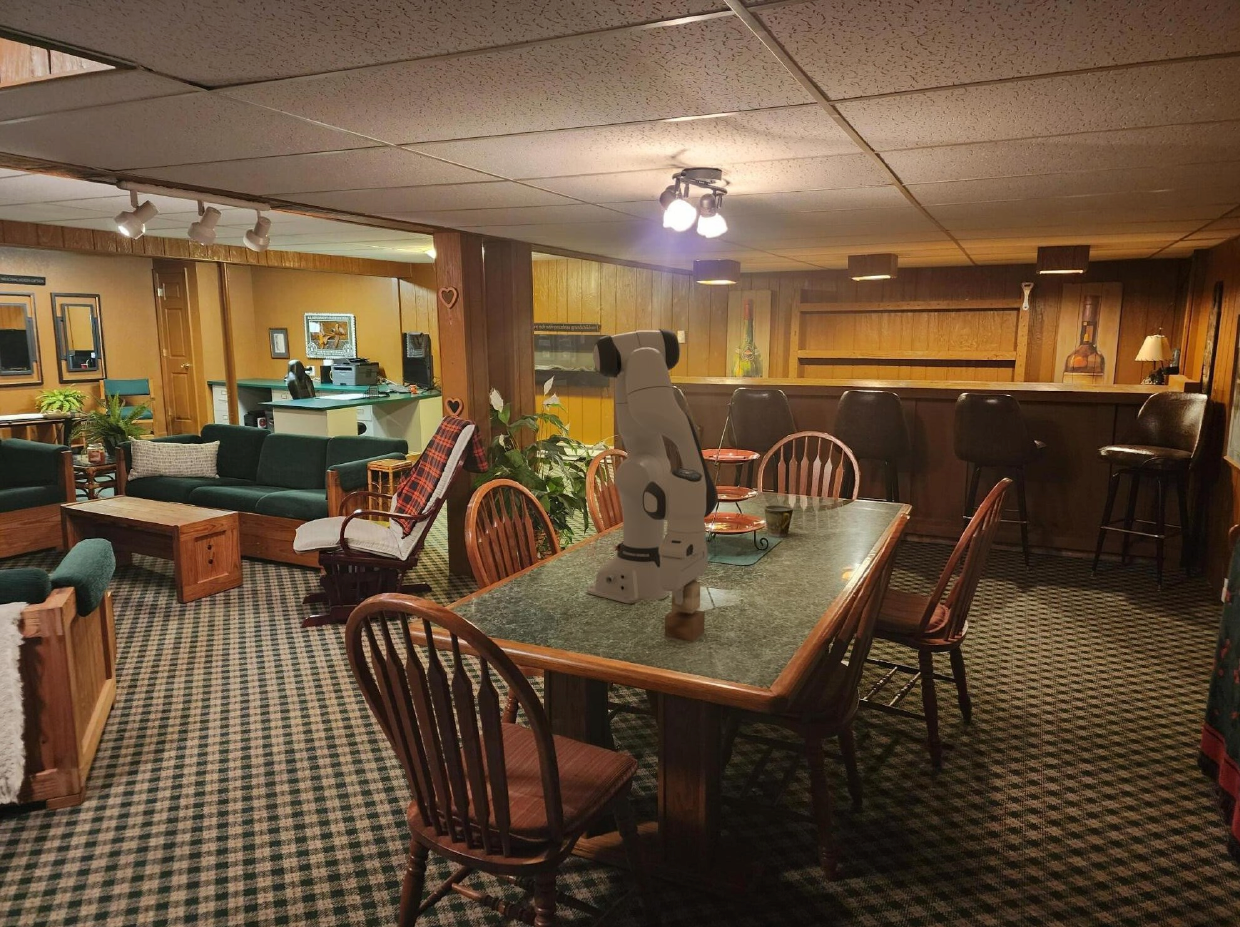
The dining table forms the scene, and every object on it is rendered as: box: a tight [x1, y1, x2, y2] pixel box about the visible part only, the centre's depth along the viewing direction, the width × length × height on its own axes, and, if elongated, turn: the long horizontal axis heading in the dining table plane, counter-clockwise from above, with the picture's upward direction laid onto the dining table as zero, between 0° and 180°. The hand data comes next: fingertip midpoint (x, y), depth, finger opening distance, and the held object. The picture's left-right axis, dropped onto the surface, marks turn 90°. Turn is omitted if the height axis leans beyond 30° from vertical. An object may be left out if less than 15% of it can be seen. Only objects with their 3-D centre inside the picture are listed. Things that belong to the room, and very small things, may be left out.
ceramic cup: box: [764, 504, 794, 538], centre depth 284 cm, size 13×10×10 cm
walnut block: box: [664, 609, 706, 643], centre depth 185 cm, size 7×7×5 cm
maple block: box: [671, 581, 701, 613], centre depth 184 cm, size 5×5×6 cm
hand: (685, 599), depth 185 cm, fingers closed on maple block, 5 cm apart
